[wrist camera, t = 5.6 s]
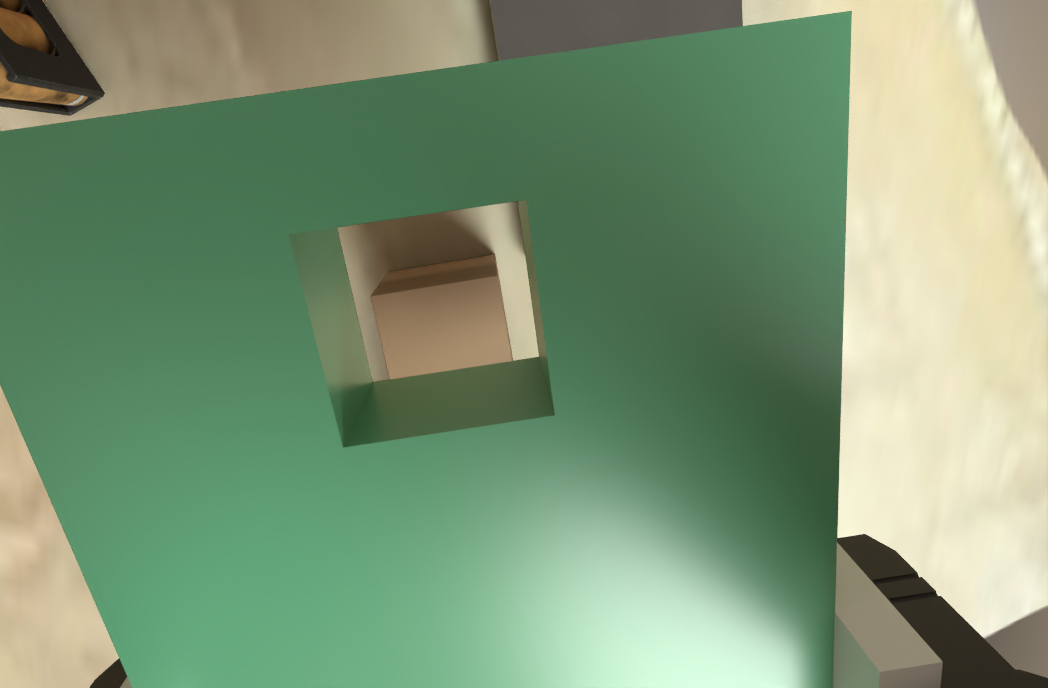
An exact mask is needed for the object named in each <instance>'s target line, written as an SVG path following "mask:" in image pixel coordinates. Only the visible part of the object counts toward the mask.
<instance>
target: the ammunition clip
mask: <svg viewBox="0 0 1048 688" xmlns="http://www.w3.org/2000/svg"><path fill="white" fill-rule="evenodd" d="M104 94H105V93H104V92H103V90H102V89H101V87H100V86H99V84H98V83H97V81H96V80H95V78H94V77H93V75H92V74H91V72H90V71H89V69H88V68H87V66H86V65H85V64H84V62H83V61H82V59H81V58H80V56H79V55H78V53H77V52H76V50H75V49H74V47H73V46H72V44H71V43H70V41H69V40H68V38H67V37H66V35H65V34H64V33H63V31H62V30H61V28H60V27H59V25H58V24H57V22H56V21H55V19H54V18H53V16H52V15H51V13H50V12H49V10H48V9H47V7H46V6H45V4H44V3H43V2H42V0H0V106H1V107H9V108H16V109H24V110H31V111H39V112H46V113H54V114H61V115H69V116H70V115H72V114H74V113H76V112H77V111H79V110H81V109H83V108H84V107H86V106H88V105H90V104H91V103H93V102H95V101H96V100H98V99H100V98H102V97H103V96H104Z"/></svg>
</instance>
